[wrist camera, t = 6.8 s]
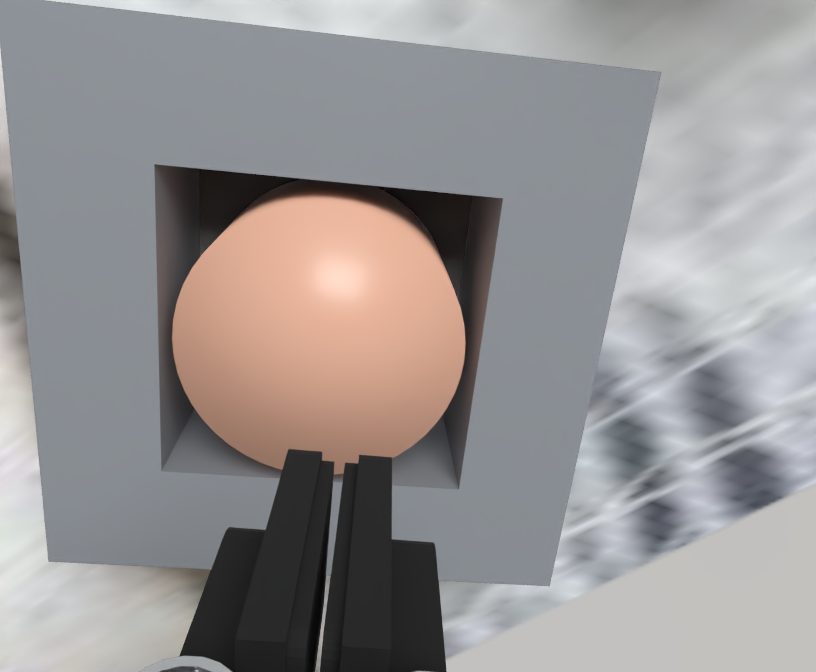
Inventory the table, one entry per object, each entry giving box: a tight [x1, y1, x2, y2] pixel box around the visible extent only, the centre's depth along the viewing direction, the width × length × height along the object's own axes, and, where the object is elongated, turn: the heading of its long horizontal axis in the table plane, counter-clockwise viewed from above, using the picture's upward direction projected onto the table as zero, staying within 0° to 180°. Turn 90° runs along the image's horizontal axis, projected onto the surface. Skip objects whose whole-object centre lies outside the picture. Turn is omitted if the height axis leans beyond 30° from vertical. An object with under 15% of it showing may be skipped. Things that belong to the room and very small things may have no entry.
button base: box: [0, 0, 661, 586], centre depth 22 cm, size 16×16×5 cm
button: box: [172, 179, 466, 475], centre depth 21 cm, size 8×8×5 cm
